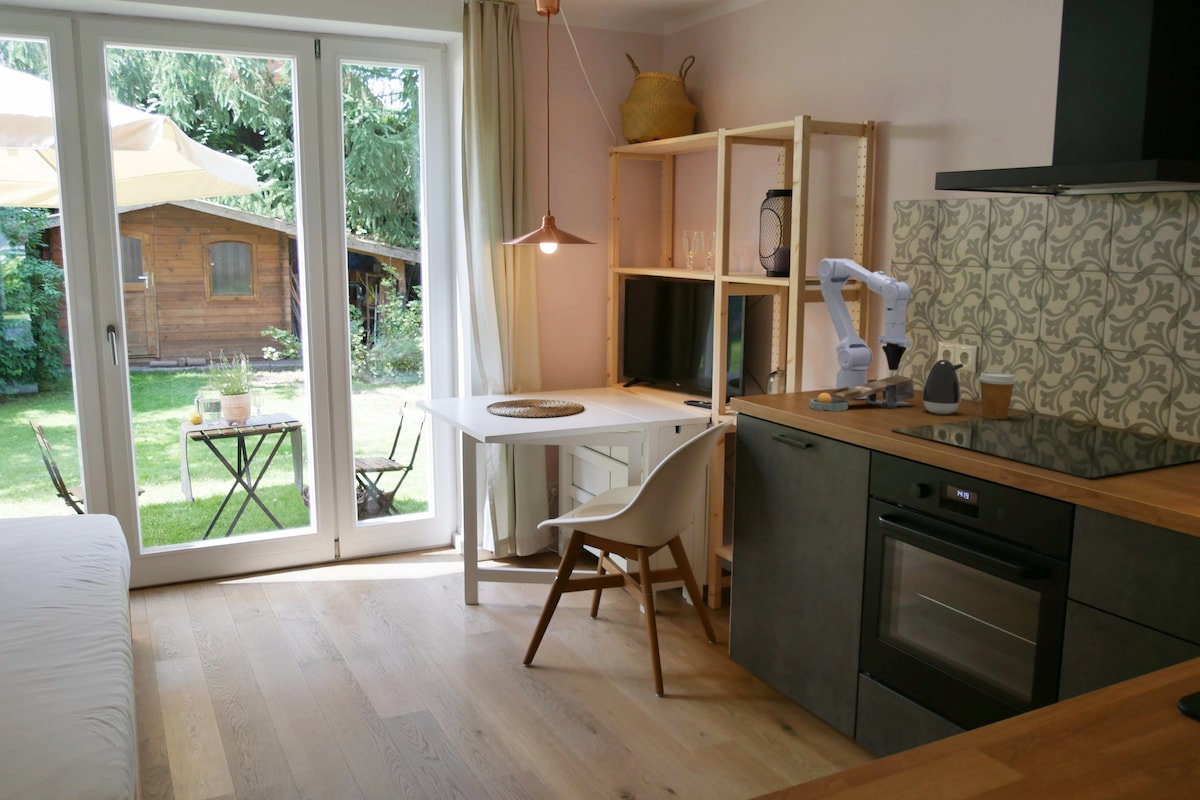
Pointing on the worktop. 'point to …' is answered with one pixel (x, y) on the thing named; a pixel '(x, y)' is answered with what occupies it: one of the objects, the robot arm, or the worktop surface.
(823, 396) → the ball
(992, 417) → the disposable coffee cup
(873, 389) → the lever
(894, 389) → the lever stand
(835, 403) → the dish
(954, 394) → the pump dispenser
